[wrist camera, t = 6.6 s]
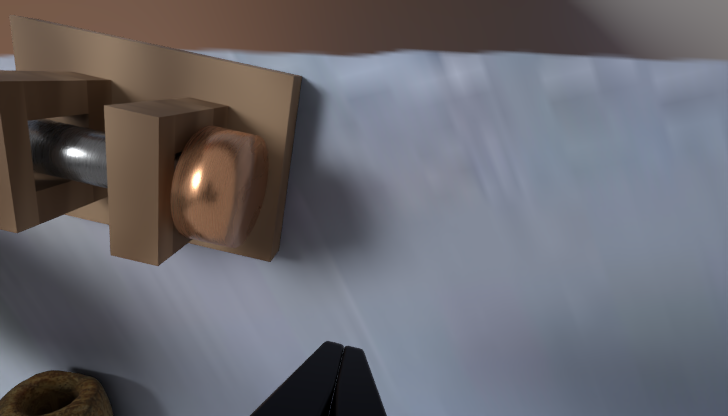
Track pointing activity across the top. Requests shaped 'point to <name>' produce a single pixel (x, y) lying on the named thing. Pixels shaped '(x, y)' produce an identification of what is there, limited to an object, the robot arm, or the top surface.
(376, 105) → the top surface
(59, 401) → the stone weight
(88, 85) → the bearing stand
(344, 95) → the top surface
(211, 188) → the shaft
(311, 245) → the top surface
